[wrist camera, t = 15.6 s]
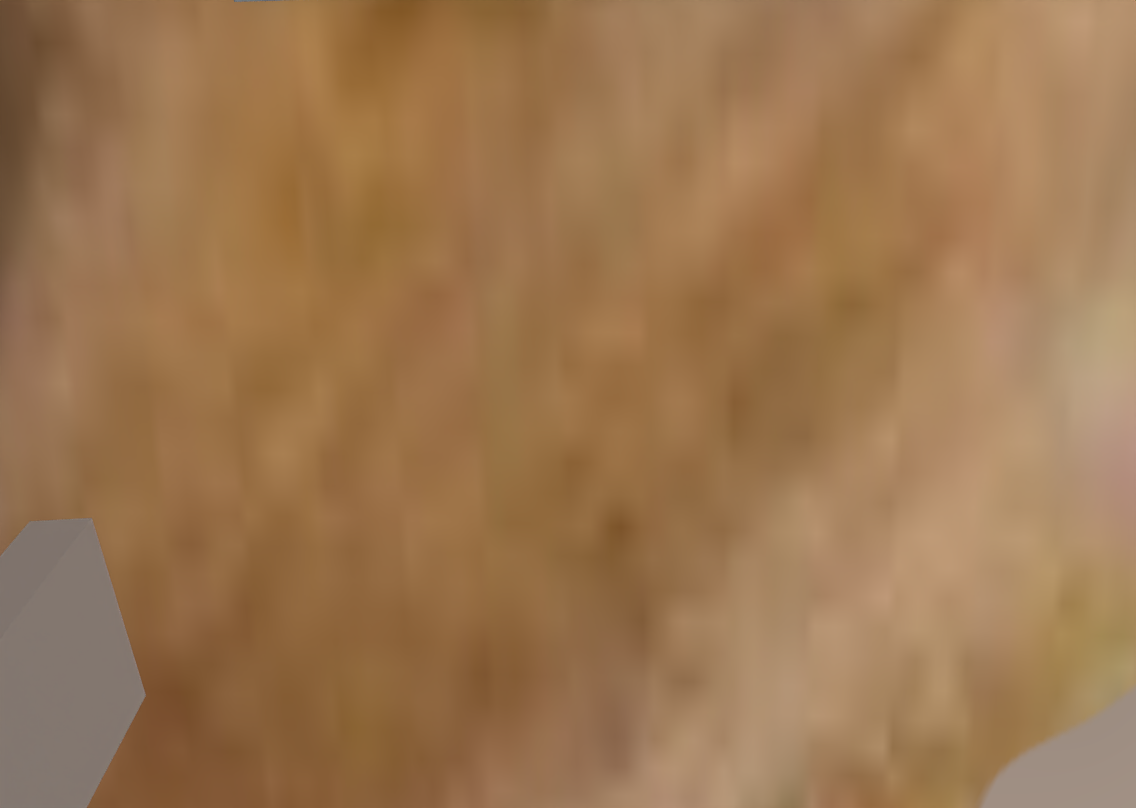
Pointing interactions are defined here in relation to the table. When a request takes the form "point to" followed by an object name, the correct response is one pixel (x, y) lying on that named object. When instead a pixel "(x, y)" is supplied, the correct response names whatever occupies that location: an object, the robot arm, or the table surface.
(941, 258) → the table surface
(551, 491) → the table surface
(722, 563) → the table surface
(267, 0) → the writing board
